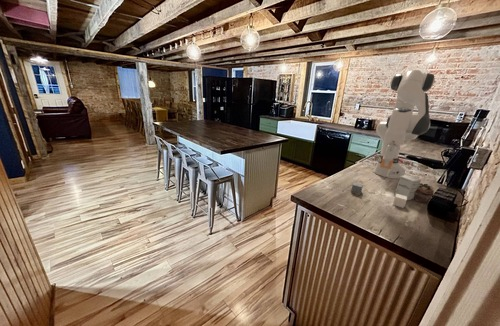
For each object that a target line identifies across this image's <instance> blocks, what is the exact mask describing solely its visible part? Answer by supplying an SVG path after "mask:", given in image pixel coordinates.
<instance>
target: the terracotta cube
mask: <svg viewBox="0 0 500 326" xmlns="http://www.w3.org/2000/svg"><path fill="white" fill-rule="evenodd" d="M393 160H394V158H393V159H392V161H390V162H389V164H388V166H384V164H385V160H384V156H383V158H382V162H381V165H380V167H382V168H387V169H391V167H392V164H393Z"/></svg>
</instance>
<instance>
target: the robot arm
mask: <svg viewBox="0 0 500 326" xmlns="http://www.w3.org/2000/svg"><path fill="white" fill-rule="evenodd" d="M435 81H436V79H435V75H434V74H433V73H429V72H427V73H425V72H422V71H421V70H419V69H412V70H409V71H408V72H406V73H396V74H395V75H393V77H392V78H391V80H390V82H389V83H390V84H389V85H390V89H391V90H392V91H394V92H397V93H396V95H397V97H396V99H395V103H394V105H393V109H392V113H391V115H389V116H387V119H386V120H387V121H381V122H379V123H378V124H377V125H376V128H375V131H376V134H377V135H378V136H379V138H380V139H381V143H382V146H381V151H380V154H379V155H378V159H377V163H376V165H375V167H374V169H373V170H372V173H374V174H376V175H378V176H381V177H384V178H385V177H386V178H388V179H400V177H401V176H405V175H406V174H405V173H406V170H405V167H404V166H402V164H400V163H402V162H403V161H404V160H403V158H399V155H400V151H401V147H400V146H403V145H404V142H405V141H413V140H415V139H417V138H418V137H419V136H421V135H423V134H425V133H428V131H429V129H430V128H431V118H430V117H431V116H430V113H429V112H430V105H429V102H430V101H429V95H428V93H427V92H428V91H429V90H431V88H432V87H433V86H434V84H435ZM415 107H416V108H417V113H418V114H417V115H416V114H414V108H415ZM383 156H384V160H385V164H384V166H388V164H389V162H390V161H392V159H393V158H394V160H393V164H392V167H391V169H387V168H382V167H380V165H381V162H382V158H383Z"/></svg>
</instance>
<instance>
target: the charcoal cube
mask: <svg viewBox="0 0 500 326" xmlns="http://www.w3.org/2000/svg"><path fill="white" fill-rule="evenodd" d="M363 186H364V184H363V183H359V182H356V181H354V182H353V184H352V186H351V190H350V192H351V193H353V194H357V195H359V196H360V195H361V193H362V189H363Z"/></svg>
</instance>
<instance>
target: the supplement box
mask: <svg viewBox="0 0 500 326" xmlns="http://www.w3.org/2000/svg"><path fill="white" fill-rule="evenodd" d="M421 181H422V179H420V178H417V177H414V176H412V175H409V174H405V176H401V177H400V178H399V179H398V183H397V186H396V189H395V192H394V196H395V195H396V194H400V195H403V196H407V201H410V200H414V199H413V198H414V195H415V191H416V190H417V188H418V187H419V184H420V183H422V182H421Z"/></svg>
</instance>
